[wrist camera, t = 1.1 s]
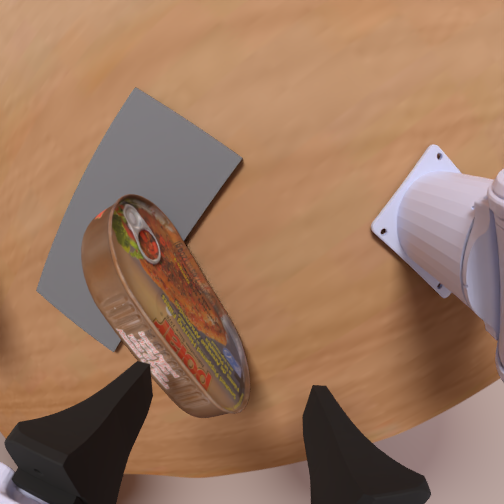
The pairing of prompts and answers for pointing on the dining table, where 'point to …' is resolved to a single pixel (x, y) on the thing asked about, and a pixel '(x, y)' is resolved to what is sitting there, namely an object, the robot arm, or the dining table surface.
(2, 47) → the dining table surface
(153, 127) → the mat
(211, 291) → the tin
